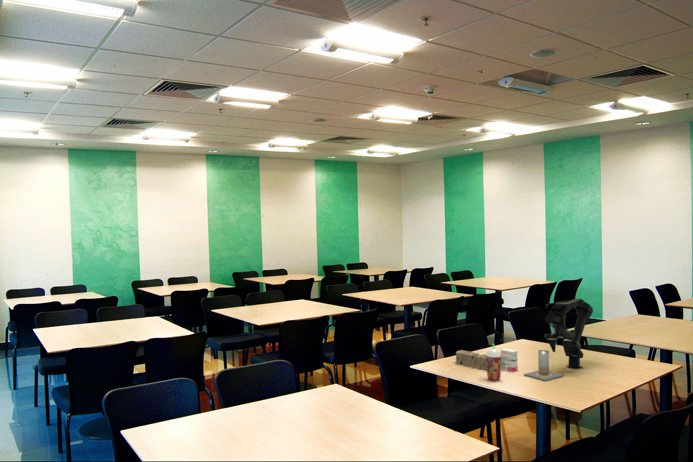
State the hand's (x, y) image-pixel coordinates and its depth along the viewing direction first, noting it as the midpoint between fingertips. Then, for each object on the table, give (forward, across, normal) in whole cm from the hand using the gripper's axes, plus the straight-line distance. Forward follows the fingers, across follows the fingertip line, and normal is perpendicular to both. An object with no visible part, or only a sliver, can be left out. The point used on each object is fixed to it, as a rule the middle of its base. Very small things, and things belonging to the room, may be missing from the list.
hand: (559, 352), depth 301 cm
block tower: (+13, -30, +35) cm, 48 cm away
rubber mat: (+14, -12, +1) cm, 18 cm away
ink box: (+12, -19, +20) cm, 30 cm away
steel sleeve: (+12, -12, +1) cm, 17 cm away
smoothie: (+17, -40, +9) cm, 45 cm away
